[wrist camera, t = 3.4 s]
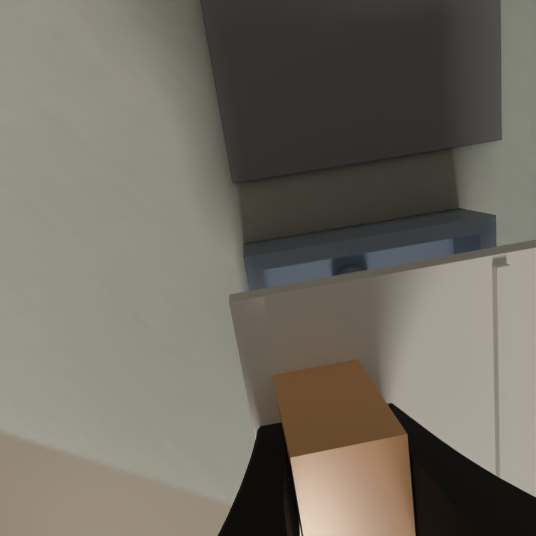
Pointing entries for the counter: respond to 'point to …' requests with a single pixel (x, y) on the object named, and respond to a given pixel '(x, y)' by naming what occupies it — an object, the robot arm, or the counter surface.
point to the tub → (367, 247)
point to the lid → (393, 378)
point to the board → (352, 80)
